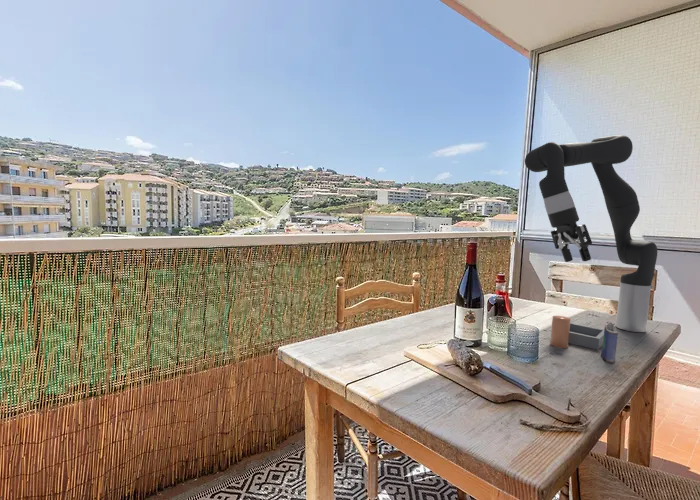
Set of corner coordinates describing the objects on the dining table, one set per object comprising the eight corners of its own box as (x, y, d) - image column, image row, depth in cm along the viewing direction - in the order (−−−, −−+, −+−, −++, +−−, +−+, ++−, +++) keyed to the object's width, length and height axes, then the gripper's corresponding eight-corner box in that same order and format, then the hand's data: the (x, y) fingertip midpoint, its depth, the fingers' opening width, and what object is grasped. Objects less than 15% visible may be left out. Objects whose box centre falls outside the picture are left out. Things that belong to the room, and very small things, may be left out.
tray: (562, 330, 137) (563, 321, 136) (607, 340, 128) (608, 330, 127) (551, 338, 127) (552, 328, 127) (598, 349, 118) (599, 338, 118)
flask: (615, 364, 106) (619, 327, 105) (603, 362, 108) (606, 325, 107) (611, 354, 115) (614, 319, 114) (599, 352, 116) (603, 318, 115)
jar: (552, 341, 124) (555, 314, 123) (569, 345, 121) (572, 318, 120) (548, 345, 121) (550, 317, 120) (565, 349, 117) (568, 320, 116)
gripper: (587, 201, 107) (606, 256, 106) (558, 209, 121) (574, 257, 121) (563, 209, 107) (581, 264, 106) (536, 216, 121) (552, 264, 120)
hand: (577, 260), depth 113 cm, fingers open, 8 cm apart
